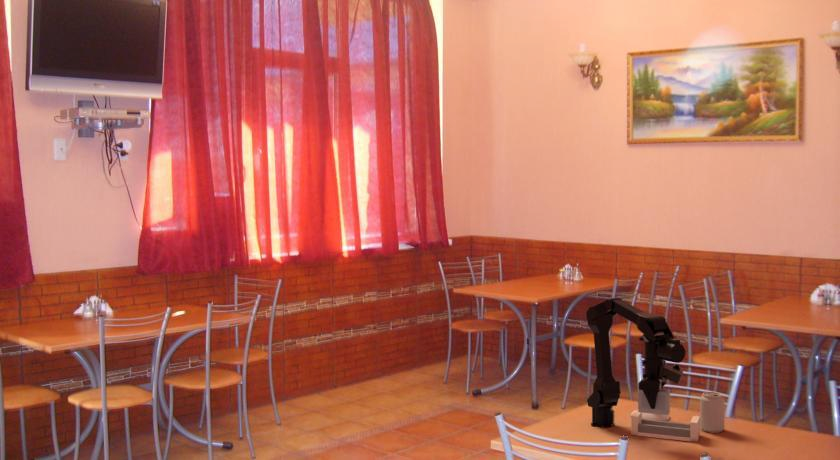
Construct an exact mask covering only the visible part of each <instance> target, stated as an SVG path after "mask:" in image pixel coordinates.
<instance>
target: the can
mask: <svg viewBox="0 0 840 460" xmlns="http://www.w3.org/2000/svg"><path fill="white" fill-rule="evenodd" d="M725 403H726V400H725V398H724V397H723V393H720V392H717V391H704V392H703V393H701V396H700V400H699V408H700V409H699V410H700V411H699V416H700V429H702V431H704V432H707V433H713V434H714V433H715V434H717V433H718V434H719V433H722V432H723V431H724V430H725V426H726V425H725V419H726V418H725V416H726V415H725V413H726V411H725V410H726V408H725V406H726V405H725Z"/></svg>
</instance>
